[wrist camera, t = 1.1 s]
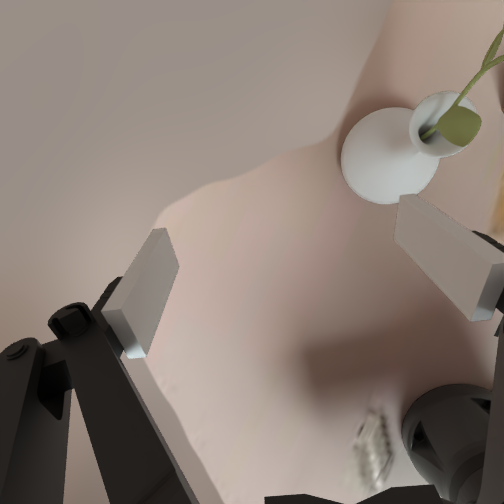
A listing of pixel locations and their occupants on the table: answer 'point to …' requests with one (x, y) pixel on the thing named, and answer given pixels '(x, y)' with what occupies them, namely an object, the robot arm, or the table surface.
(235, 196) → the table surface
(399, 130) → the flower in vase
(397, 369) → the table surface
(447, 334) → the table surface
